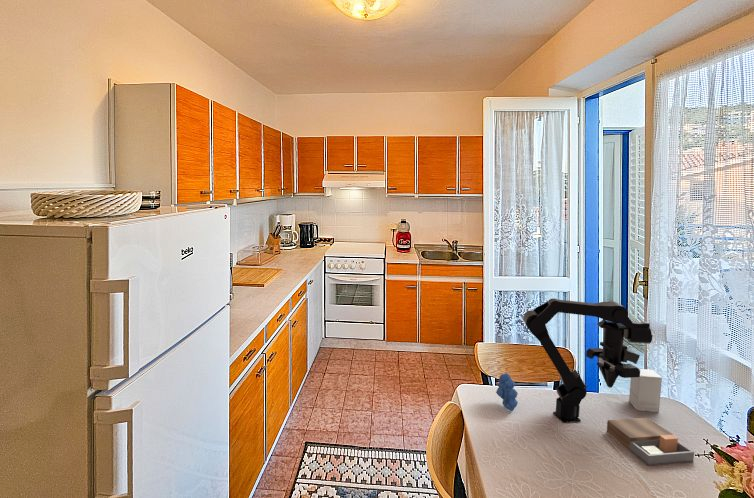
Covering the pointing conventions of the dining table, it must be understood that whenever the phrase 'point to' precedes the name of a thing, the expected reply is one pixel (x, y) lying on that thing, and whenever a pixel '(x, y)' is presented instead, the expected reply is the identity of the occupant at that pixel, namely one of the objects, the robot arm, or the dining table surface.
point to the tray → (664, 458)
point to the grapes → (507, 391)
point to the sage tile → (651, 449)
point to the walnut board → (634, 430)
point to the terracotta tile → (668, 443)
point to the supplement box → (646, 391)
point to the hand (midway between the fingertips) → (609, 387)
